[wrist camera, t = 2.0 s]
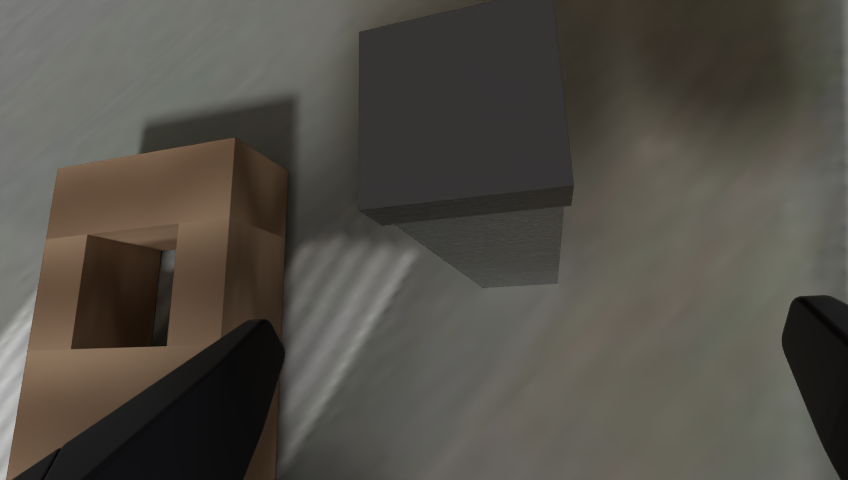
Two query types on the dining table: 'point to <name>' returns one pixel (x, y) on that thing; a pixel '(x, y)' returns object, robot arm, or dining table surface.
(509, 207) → the block
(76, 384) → the bit block
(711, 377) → the dining table surface
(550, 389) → the dining table surface
